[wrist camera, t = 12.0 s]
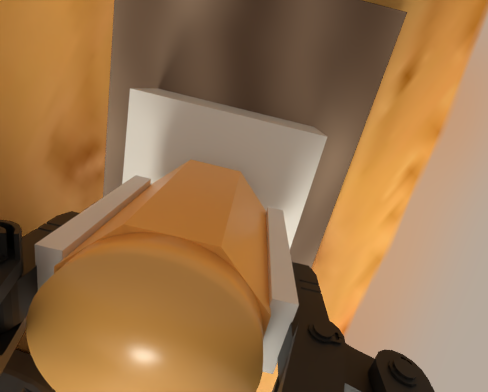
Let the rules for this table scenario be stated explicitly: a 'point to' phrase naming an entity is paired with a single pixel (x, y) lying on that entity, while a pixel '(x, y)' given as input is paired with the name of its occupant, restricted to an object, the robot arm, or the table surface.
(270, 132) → the box
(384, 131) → the table surface
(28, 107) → the table surface
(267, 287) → the orange acorn nut
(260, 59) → the mounting board
